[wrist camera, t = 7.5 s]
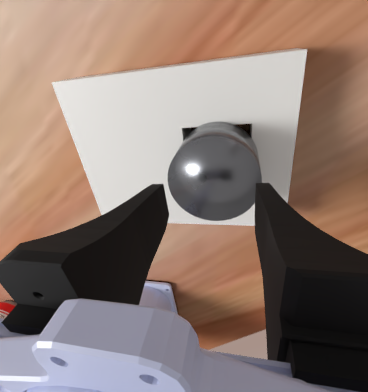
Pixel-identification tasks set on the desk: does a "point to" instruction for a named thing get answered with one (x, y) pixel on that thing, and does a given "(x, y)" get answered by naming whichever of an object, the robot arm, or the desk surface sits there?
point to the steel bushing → (215, 172)
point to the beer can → (6, 308)
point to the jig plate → (182, 121)
